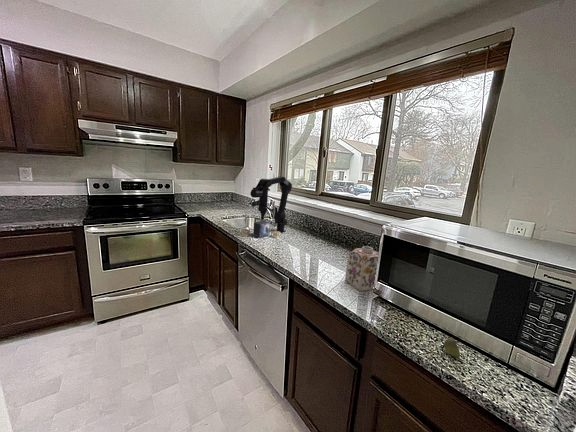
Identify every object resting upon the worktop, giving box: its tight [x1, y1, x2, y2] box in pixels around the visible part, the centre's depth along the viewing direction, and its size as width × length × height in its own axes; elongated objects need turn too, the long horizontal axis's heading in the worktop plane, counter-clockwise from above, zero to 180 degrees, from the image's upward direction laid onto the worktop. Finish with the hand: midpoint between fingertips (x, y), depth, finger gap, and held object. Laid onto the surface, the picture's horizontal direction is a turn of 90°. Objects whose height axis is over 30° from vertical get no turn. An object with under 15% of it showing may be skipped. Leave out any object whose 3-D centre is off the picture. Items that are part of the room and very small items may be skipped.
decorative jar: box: [344, 245, 379, 292], centre depth 112 cm, size 12×12×18 cm
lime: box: [443, 337, 461, 359], centre depth 72 cm, size 4×5×5 cm
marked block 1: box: [241, 228, 251, 237], centre depth 176 cm, size 4×4×4 cm
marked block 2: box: [272, 230, 281, 239], centre depth 178 cm, size 4×4×4 cm
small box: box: [252, 220, 271, 239], centre depth 177 cm, size 11×6×10 cm, turn 143°
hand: (262, 218), depth 175 cm, fingers closed
